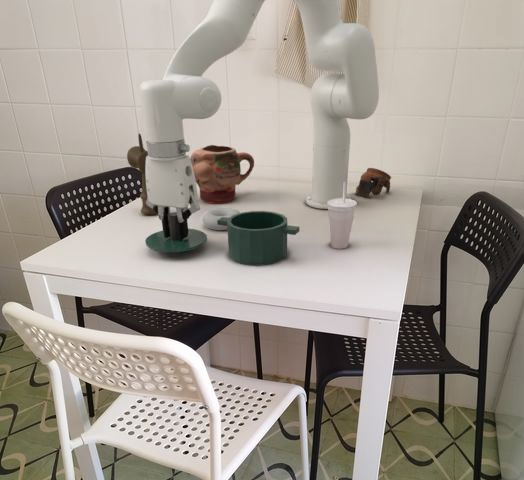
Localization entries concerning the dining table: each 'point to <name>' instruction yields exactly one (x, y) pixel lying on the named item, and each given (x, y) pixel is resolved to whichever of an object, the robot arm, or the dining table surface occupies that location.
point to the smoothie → (341, 219)
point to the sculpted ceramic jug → (219, 172)
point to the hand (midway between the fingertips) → (176, 236)
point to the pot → (257, 237)
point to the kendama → (138, 160)
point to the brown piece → (378, 182)
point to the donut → (217, 217)
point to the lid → (175, 238)
